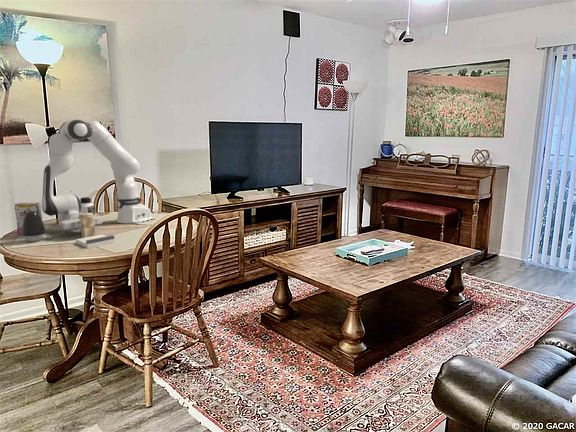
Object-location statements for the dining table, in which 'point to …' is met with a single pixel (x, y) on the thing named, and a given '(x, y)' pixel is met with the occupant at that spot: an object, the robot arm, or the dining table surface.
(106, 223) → the dining table surface
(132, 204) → the robot arm
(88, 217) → the oak block
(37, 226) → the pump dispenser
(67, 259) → the dining table surface
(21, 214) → the candy bar box
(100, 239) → the dock
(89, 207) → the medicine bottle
